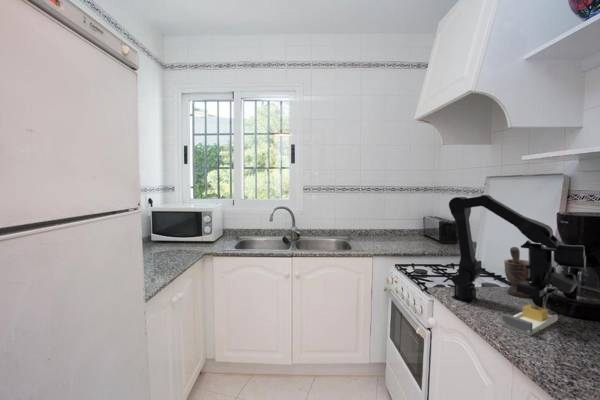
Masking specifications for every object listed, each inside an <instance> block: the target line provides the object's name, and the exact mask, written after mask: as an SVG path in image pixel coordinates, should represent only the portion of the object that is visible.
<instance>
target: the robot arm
mask: <svg viewBox="0 0 600 400" xmlns="http://www.w3.org/2000/svg"><path fill="white" fill-rule="evenodd" d="M476 207H484V208H485V209H487V210H488V211H490V212H491V213H493V214H494V215H496V216H499V217H500V218H501V219H503V220H505V221H506V222H508V223H509V224H510V225H513V226H514V227H515V228H517V229H518V230H519V232H520V233H521V234H522V235H523V236H525V237H526V238H527V239H528V240H525V242H524V243H523V244H521V246H520V248H521V249H528V261H529V264H528V265H526V268H527V269H529V277H526V281H530V282H526V281H523V282H520V283H518V284H517V285H516V291H517V292H520V293H524V294H528V295H529V296H530V297H529V298H530V299H531V300H532V302H533V305H538V306H539V307H540V308H544V309H545V305H546V303H547V301H548V298H549V296H550V294H553V293H555V292H556V291H557V289H558V290H560V291H561V292H562V293H566V294H570V293H572V292H574V291H575V289H576V287H577V286H578V285H579V280H577V275H576V274H573V273H572V272H569V273H566V274H565V275H564V274H563V273H558V272H557V268H556V267H555V266H554V265H553V262H554V263H556V264H558V266H560V267H566V268H567V267H568V268H575V269H582V270H585V269H586V266H587V255H586V250H585V245H580V244H576V245H571V244H564V243H562V242H561V241H560V240H559V239H558V238H557V236H555V235H554V230H553V228H552V227H551V226H550V225H548V224H546V223H544V222H541V221H539V220H536V219H533V218H530V217H527V216H525V215H523V214H521V213H520V212H518V211H515V210H514V209H512V208H510V207H509V206H507V205H505V204H504V203H502V202H501V201H498V200H497V199H495V198H493V196H492V195H489V194H482V195H479V196H473V197H466V196H456V197H453V198H451V199H450V201H449V202H448V208H449V211H450V214H451V216H452V218H453V219H454V221H455V225H456V233H457V238H458V239H457V240H458V246H459V254H460V258H459V264H458V274H457V275H455V276H453V277H452V278H451V281H452V284H453V285H454V286H453V290H454V292H453V293H454V294H453V295H451V298H453V299H456V300H458V301H462V302H463V303H464V302H465V303H467V304H468V303H469V304H470V303H472V302H475V301H477V300H478V297H477V289H476V286H475V285H476V284H475V282H476V280H477V279H479V278H480V277H481V275H482V273H483V272H484V270H483V268H482V260H477V258H476V256H475V253H474V245H473V240H472V239H473V238H472V231H471V224H470V223H471V222H470V217H471V212H472V208H476ZM551 286H553V287H554V288H551ZM555 288H557V289H555Z"/></svg>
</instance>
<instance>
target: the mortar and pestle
mask: <svg viewBox="0 0 600 400" xmlns="http://www.w3.org/2000/svg"><path fill="white" fill-rule="evenodd" d="M509 251H510V252H509V253H510V256H511V258H512V259H511V258H510V259H505V260H504V261H503V262H504V273H505V276H506V277H505V278H506V279H507V281H508V282H510V284H511V285H510V286H509V287H508V289H507V290H506V293H508V294H509V295H512V296H515V297H518V298H531V297H530V296H529V295H528V294H524V293H520V292H517V291H516V285H517V284H518V283H520V282H523V281H526V277H529V269H527V268H526V265H528V264H529V260H526V259H520V256H521V255H520V253H521V252H520V249H519V247H516V246H512V247H510V250H509ZM526 282H530V281H526ZM530 283H531V282H530Z"/></svg>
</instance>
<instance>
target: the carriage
mask: <svg viewBox="0 0 600 400" xmlns="http://www.w3.org/2000/svg"><path fill="white" fill-rule="evenodd" d="M522 311H523V316H524V317H527V318H530V319H533V320H536V321H539V322H542V321H544V320H546V319H547V318H548V314H549V311H548V309H547V308H545V307H544V308H540V307H539V306H538V305H535V304H526V305H524V306H522Z"/></svg>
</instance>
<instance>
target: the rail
mask: <svg viewBox="0 0 600 400" xmlns="http://www.w3.org/2000/svg"><path fill="white" fill-rule="evenodd" d="M558 318H559V317H558V314H553V315H551V314H549V313H548V318H547V319H546V320H544V321H542V322H539V321H536V320H533V319H530V318H527V317H524V316H523V310H522V311H520V312H518V313H516V314H515V315H510V314H507V313H504V314H502V326H503V327H504V326H506V327H505V328H507V327H508V328H507V329H510V328H511V329H510V330H512V329H513V331H515V330H516V331H515V332H518V331H519V332H518V333H520V332H522V333H521V334H523V333H524V335H526V334H527V336H528V335H530V336H529V337H531V336H533V335H534V333H535V334H537V333H538V332H540V331H541V329H542V330H543V329H545V328H546V327H549V326H550V325H552V324H553V323H555V322H557V321H558ZM539 330H540V331H539ZM532 334H533V335H532Z"/></svg>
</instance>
